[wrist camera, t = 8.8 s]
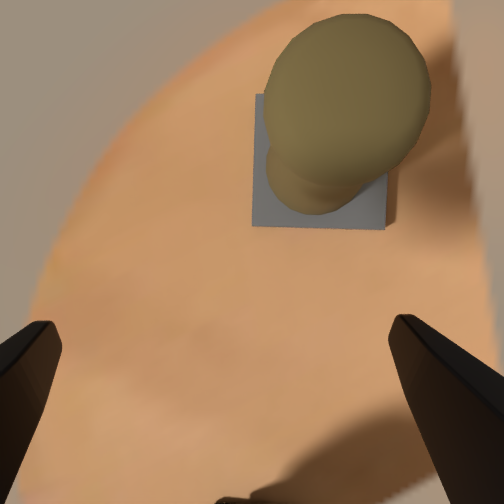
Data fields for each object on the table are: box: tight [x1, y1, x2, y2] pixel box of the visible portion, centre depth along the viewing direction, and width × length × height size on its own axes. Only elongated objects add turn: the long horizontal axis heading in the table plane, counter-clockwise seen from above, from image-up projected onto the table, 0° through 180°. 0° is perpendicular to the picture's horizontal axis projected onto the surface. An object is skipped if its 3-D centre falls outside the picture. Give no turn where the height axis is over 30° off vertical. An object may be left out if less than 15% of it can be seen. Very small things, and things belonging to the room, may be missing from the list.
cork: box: [263, 14, 431, 215], centre depth 15 cm, size 6×6×11 cm
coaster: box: [252, 94, 388, 230], centre depth 21 cm, size 8×8×1 cm
